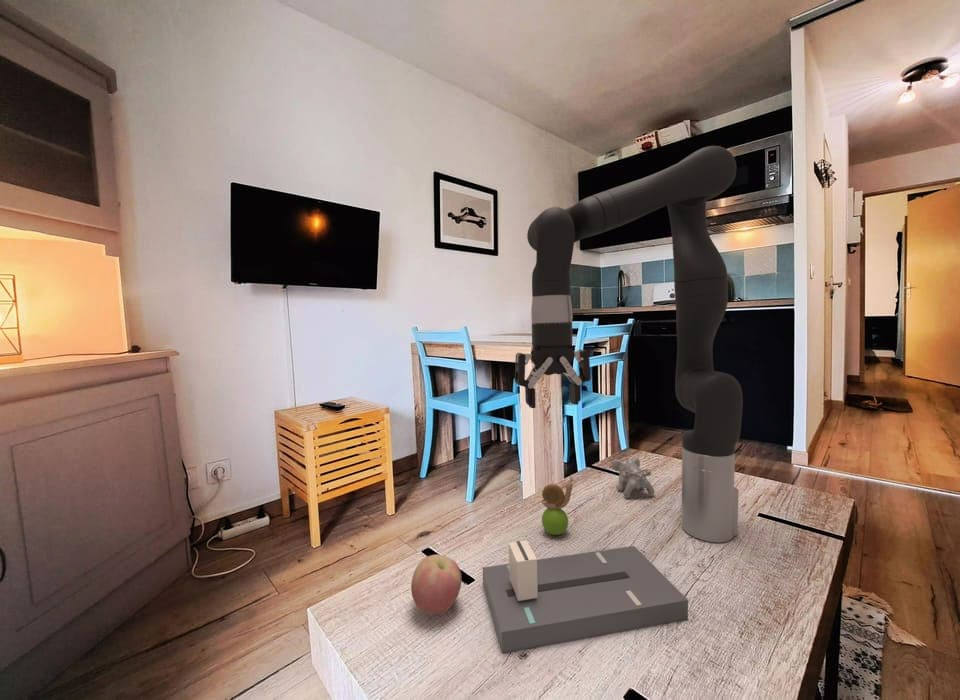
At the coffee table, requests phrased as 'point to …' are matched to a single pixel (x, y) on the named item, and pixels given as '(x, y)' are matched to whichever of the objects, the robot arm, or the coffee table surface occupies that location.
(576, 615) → the fader console
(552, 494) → the snail figurine
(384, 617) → the coffee table surface
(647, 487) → the grey animal figurine
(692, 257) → the robot arm
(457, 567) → the apple
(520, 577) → the fader
